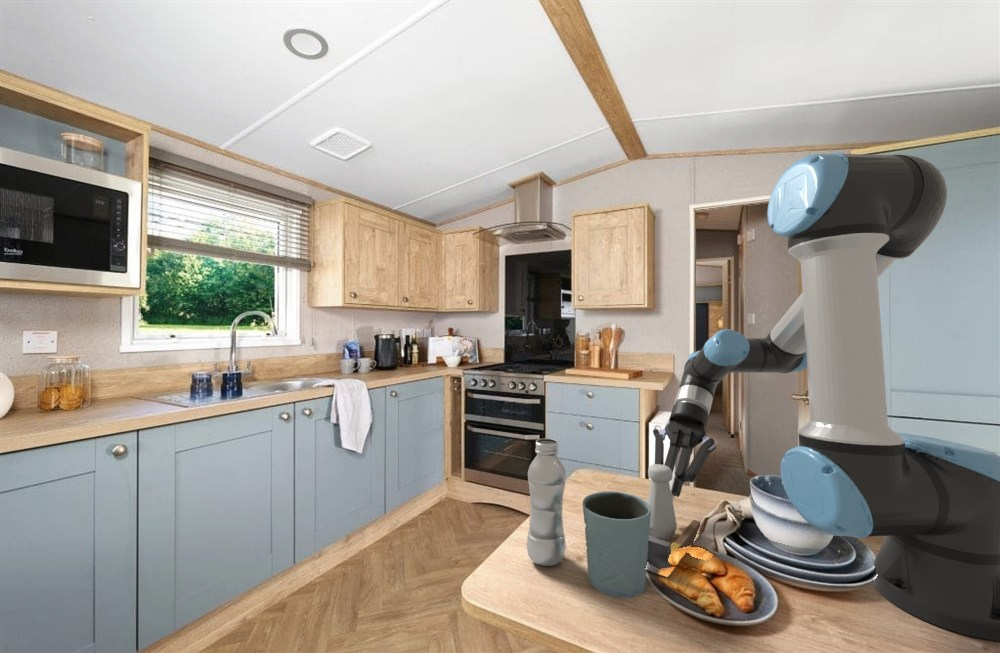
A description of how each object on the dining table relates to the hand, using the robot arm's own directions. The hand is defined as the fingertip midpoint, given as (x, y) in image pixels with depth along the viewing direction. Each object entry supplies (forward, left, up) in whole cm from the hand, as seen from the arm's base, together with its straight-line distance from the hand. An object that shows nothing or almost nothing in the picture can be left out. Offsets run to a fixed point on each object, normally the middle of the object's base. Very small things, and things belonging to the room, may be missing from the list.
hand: (664, 508), depth 82 cm
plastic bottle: (+11, +25, -4) cm, 28 cm away
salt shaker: (-1, +4, -4) cm, 6 cm away
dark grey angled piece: (-1, +8, -3) cm, 9 cm away
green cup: (-1, +23, -4) cm, 23 cm away
